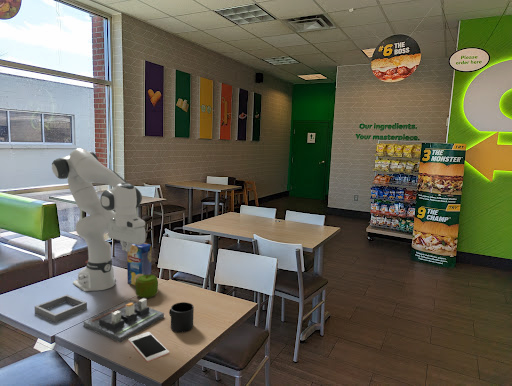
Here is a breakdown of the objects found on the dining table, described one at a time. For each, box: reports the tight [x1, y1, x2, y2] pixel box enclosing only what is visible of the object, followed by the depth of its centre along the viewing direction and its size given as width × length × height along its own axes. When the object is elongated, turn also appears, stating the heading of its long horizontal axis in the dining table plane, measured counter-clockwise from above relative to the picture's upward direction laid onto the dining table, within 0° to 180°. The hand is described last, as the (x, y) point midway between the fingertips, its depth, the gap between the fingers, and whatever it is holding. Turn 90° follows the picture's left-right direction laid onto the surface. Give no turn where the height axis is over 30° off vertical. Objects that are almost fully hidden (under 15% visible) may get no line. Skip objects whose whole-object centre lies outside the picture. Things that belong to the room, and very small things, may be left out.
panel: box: [83, 298, 165, 343], centre depth 151 cm, size 22×24×8 cm
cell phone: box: [127, 331, 170, 363], centre depth 134 cm, size 9×18×1 cm, turn 41°
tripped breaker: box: [126, 303, 134, 316], centre depth 149 cm, size 2×3×5 cm, turn 151°
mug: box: [168, 301, 195, 334], centre depth 149 cm, size 9×12×9 cm
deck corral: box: [34, 294, 88, 323], centre depth 158 cm, size 15×15×3 cm
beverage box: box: [126, 242, 152, 286], centre depth 192 cm, size 7×11×22 cm, turn 61°
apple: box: [134, 274, 159, 299], centre depth 178 cm, size 11×11×11 cm
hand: (126, 250), depth 156 cm, fingers closed
